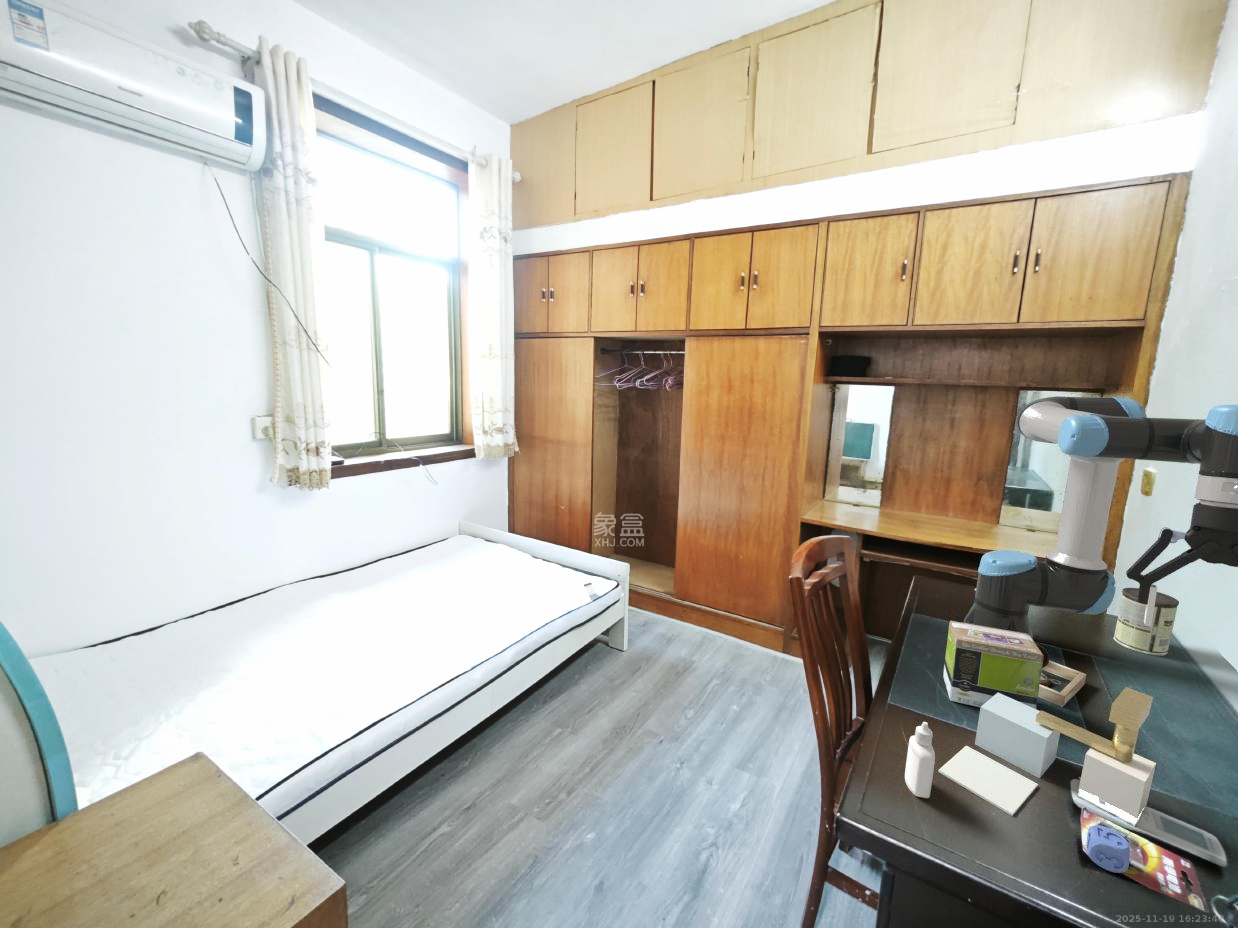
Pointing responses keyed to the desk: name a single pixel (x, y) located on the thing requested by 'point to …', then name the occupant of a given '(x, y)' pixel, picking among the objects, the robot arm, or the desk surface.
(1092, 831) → the decorative dice
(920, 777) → the eye dropper bottle
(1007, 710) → the cover
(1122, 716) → the gold angular piece
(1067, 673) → the beige square frame
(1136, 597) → the coffee can
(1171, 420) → the robot arm
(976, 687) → the tea box
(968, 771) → the mat
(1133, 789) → the white rectangular box
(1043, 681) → the compass
